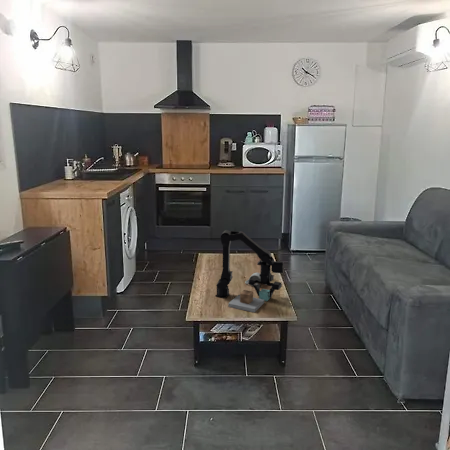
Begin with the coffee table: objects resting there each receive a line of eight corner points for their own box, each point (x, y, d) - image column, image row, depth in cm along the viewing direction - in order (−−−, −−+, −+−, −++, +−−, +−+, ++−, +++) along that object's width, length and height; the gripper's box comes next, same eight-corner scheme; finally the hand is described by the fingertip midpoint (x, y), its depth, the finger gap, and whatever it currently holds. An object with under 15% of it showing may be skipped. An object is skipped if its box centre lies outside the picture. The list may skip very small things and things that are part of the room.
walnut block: (240, 302, 249) (240, 293, 247) (244, 298, 253) (244, 289, 252) (248, 304, 246) (249, 295, 245) (252, 300, 251) (253, 291, 250)
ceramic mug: (262, 282, 282) (263, 271, 280) (260, 287, 275) (260, 275, 273) (246, 281, 285) (246, 270, 283) (243, 286, 277) (243, 274, 275)
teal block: (259, 299, 257) (259, 291, 256) (262, 296, 262) (262, 288, 260) (267, 301, 255) (267, 293, 254) (270, 298, 259) (270, 290, 258)
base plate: (228, 306, 248) (228, 303, 247) (239, 297, 260) (239, 294, 259) (254, 312, 241) (254, 309, 240) (264, 302, 253) (264, 299, 252)
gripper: (285, 270, 257) (284, 295, 261) (256, 265, 265) (255, 289, 269) (278, 276, 247) (277, 302, 251) (248, 271, 256) (247, 296, 259)
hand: (264, 297), depth 258 cm, fingers open, 7 cm apart
